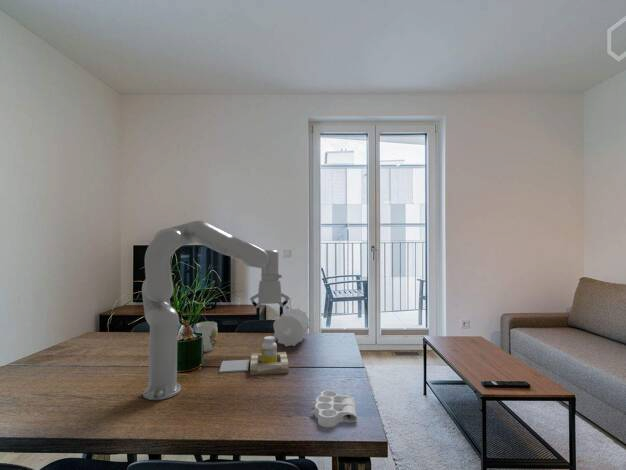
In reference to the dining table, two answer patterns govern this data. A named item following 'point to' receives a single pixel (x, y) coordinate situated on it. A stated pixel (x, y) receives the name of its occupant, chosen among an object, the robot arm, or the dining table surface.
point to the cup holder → (269, 364)
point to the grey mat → (234, 366)
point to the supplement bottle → (269, 350)
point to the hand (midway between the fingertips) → (269, 316)
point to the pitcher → (208, 334)
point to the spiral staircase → (291, 327)
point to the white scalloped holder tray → (334, 409)
